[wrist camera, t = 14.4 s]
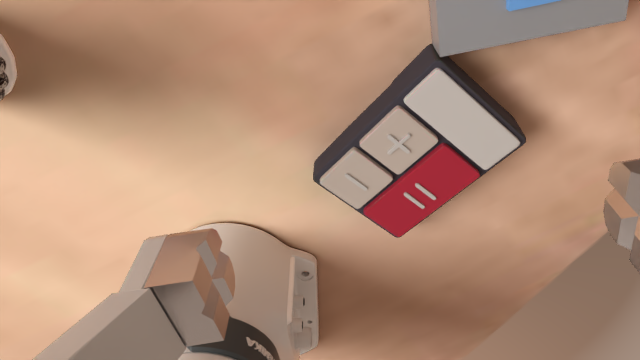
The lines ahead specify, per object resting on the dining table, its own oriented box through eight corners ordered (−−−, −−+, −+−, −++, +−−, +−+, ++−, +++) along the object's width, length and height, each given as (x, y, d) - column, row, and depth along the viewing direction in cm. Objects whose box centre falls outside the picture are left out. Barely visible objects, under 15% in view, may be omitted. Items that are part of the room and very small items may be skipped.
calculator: (309, 185, 41) (439, 61, 34) (312, 157, 44) (431, 40, 37) (398, 245, 45) (532, 146, 38) (394, 215, 48) (516, 119, 41)
